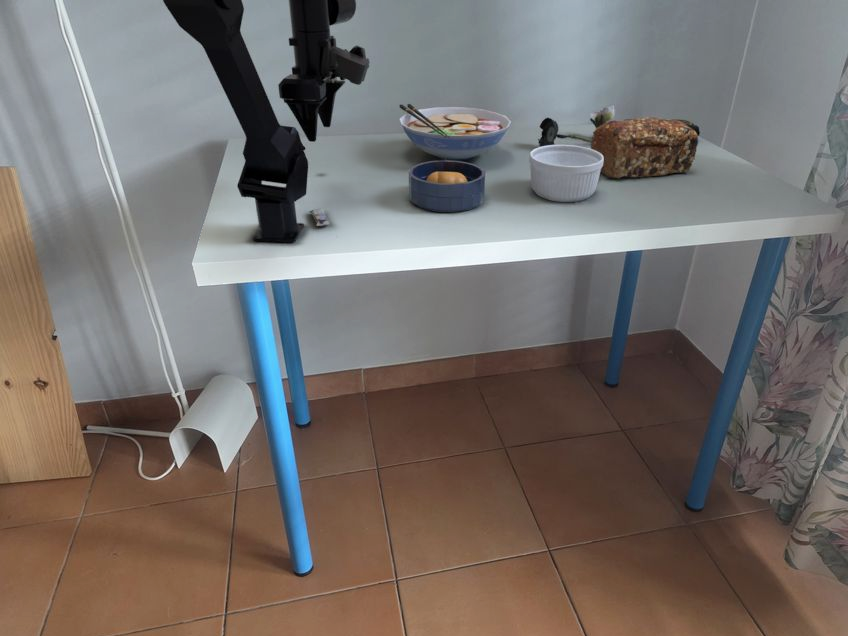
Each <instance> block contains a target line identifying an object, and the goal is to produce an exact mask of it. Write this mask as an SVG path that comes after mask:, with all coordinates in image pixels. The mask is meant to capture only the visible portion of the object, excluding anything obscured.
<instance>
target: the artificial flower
mask: <svg viewBox="0 0 848 636" xmlns="http://www.w3.org/2000/svg"><path fill="white" fill-rule="evenodd" d="M588 115H589V117H590V118H589V120H590V122H591V123H592V124H593V125H594V127H595V129H596V128H598V127H599V126H601V125H603V124H604V123H606V122H609V121H612V120H614V118H615V115H616V110H615V107H614V104H612V105H610V106H604V107H603V108H602V109H600V110H599V111H595V112H591V113H588ZM539 128H540V129H541V133H540V134H541V137H540V138H537V141H538V146H539V147H542V146H548V145H556V144H555V140H556V139H557V138H558V139H563V140H564V139H567V138H569V139H577V140H581V141H583V142H586V143H591V141H592V139H591V140H590V139H587V138H584V137H581V136H576V135H570V134H569V135H566V134H561V133H559V124H558V123H557V121H556V120H554V119H553V118H551V117H545V118H544V119H543V120H542V121H541V122H540V125H539Z"/></svg>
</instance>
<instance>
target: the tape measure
mask: <svg viewBox="0 0 848 636" xmlns="http://www.w3.org/2000/svg"><path fill="white" fill-rule="evenodd" d="M673 119H674V120H677V121H680V122H682V123H684V124H686V125H687V126H688V127H690V128H692V129H693V130H694V131H696V133H697V137H699V136H700V133H701V131H700V127H699V126H698V125H696V124H694V122H692V121H689V120H686V119H680V118H679V119H677V118H673Z"/></svg>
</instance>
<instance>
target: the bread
mask: <svg viewBox="0 0 848 636" xmlns="http://www.w3.org/2000/svg"><path fill="white" fill-rule="evenodd" d="M674 119H675V118H673V119H668V118H658V117H636V118H628V119H624V120H616V119H613V120H612V121H609V122H606V123H604V124H603V125H601V126H599V127H598V128H596V127H595V129H594V131H593V132H592V133H593V135H592V136H593V137H592V139H591V144H590V149H593V150H595V151H597V152H599V153H601V154H602V155H603V157H604V162H603V166H602V168H601V171H600V173H602V174H603V175H605V176H606V177H608V178H610V179H618V180H619V179H620V178H622V177H628V178H642V177H643V178H644V177H659V176H667V175H669V174H674V173H675V174H678V173H687V172H689V171H690V170H691V169H692V166H693V163H694V161H695V160H696V152H697V149H698V148H697V147H698V144H699V138H698V137H699V136H697V133H696V131H694V130H693V129H692V128H690V127H688V126H687V125H686V124H684V123H682V122H680V121H677V120H674Z"/></svg>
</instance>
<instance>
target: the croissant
mask: <svg viewBox="0 0 848 636" xmlns="http://www.w3.org/2000/svg"><path fill="white" fill-rule="evenodd" d="M426 181H428V182H434V183H446V184H454V183H464V182H467V179H466V178H465V176H464V175H463V174H461V173H458V172H434V173H432V174H430V175H429V176H428V178H427V180H426Z"/></svg>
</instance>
